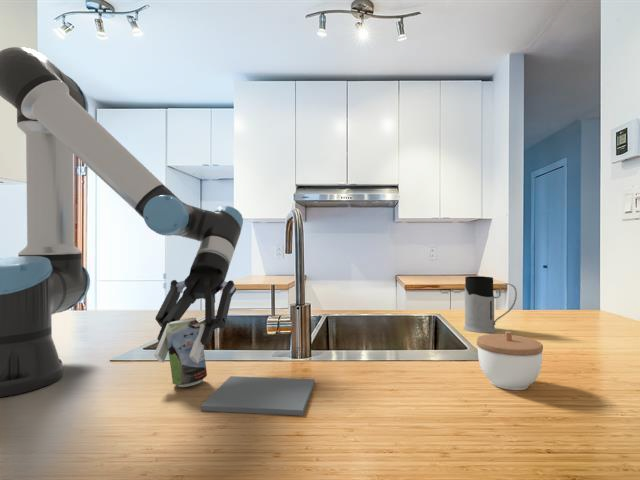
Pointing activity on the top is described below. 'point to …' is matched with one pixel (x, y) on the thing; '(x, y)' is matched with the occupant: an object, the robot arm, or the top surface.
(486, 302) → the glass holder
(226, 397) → the rubber mat
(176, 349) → the beverage can
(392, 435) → the top surface
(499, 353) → the lidded jar
